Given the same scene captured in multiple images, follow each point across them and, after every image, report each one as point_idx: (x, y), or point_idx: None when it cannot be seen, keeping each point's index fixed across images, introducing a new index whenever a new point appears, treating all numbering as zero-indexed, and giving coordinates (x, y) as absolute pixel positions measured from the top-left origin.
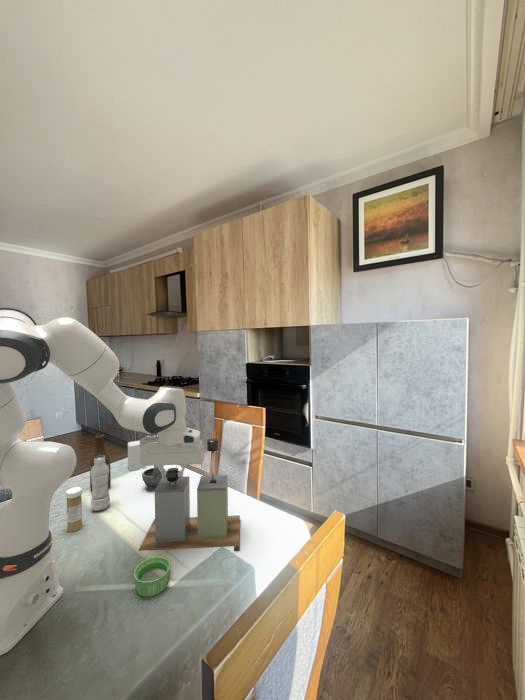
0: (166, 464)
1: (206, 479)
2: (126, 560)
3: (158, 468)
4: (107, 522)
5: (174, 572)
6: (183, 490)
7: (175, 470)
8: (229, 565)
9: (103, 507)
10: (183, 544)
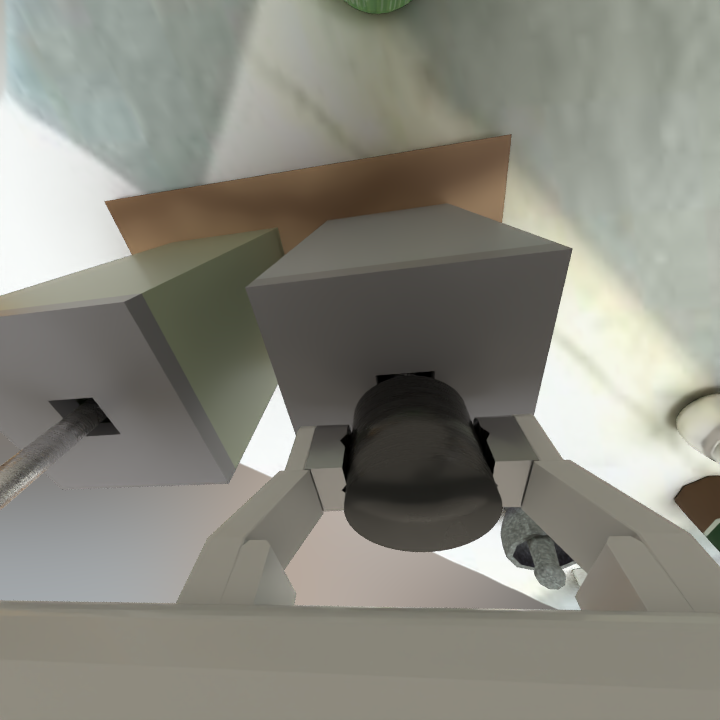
0: (569, 633)
1: (158, 444)
2: (550, 97)
3: (684, 533)
4: (666, 338)
5: (309, 25)
6: (255, 282)
7: (375, 502)
8: (106, 102)
9: (702, 404)
10: (323, 195)
